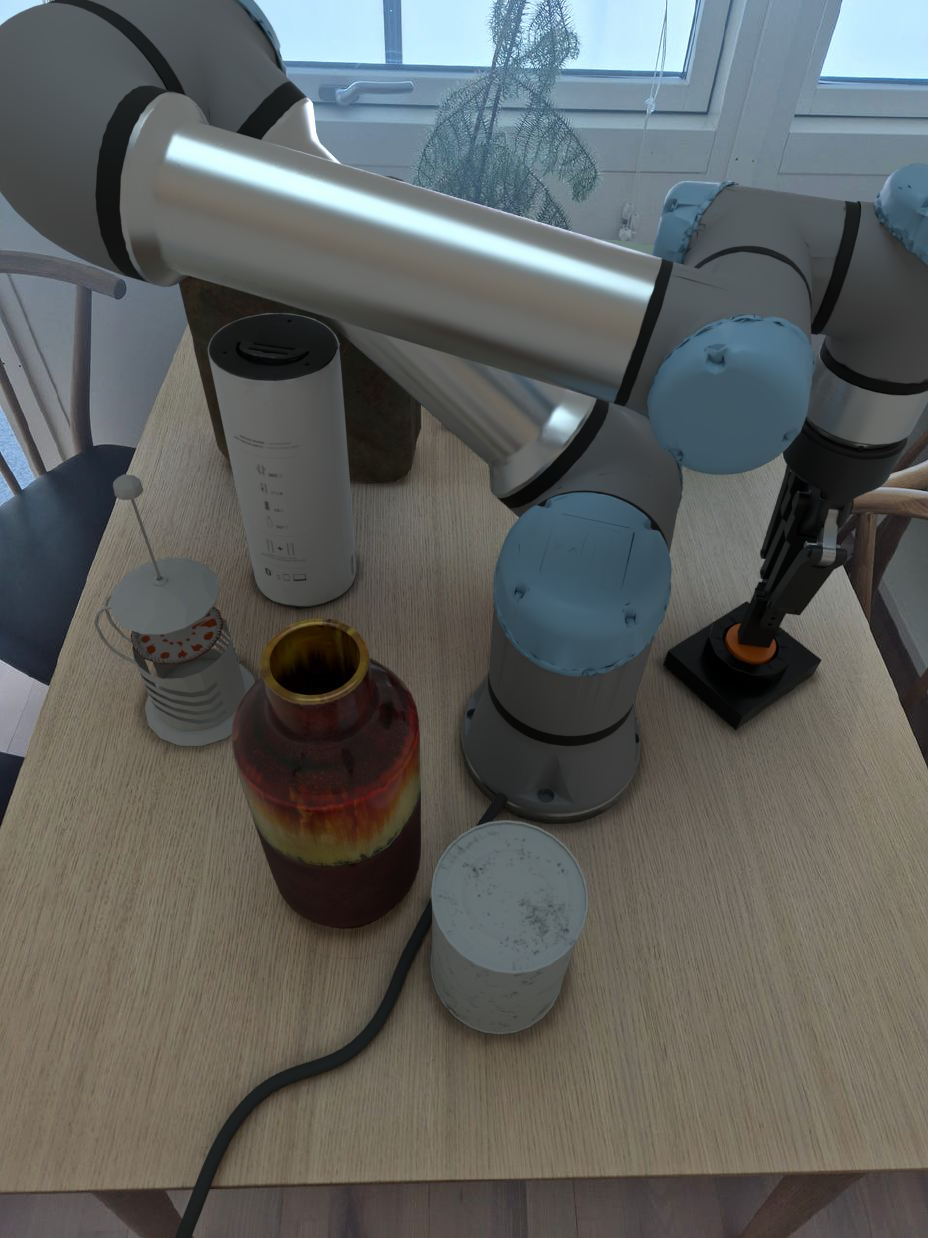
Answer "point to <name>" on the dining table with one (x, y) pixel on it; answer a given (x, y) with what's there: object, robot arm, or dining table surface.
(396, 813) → the vase
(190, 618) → the french press
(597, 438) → the robot arm
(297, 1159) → the dining table surface
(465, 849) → the pale grey cylinder
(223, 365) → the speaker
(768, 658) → the button
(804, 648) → the button block
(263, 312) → the container
